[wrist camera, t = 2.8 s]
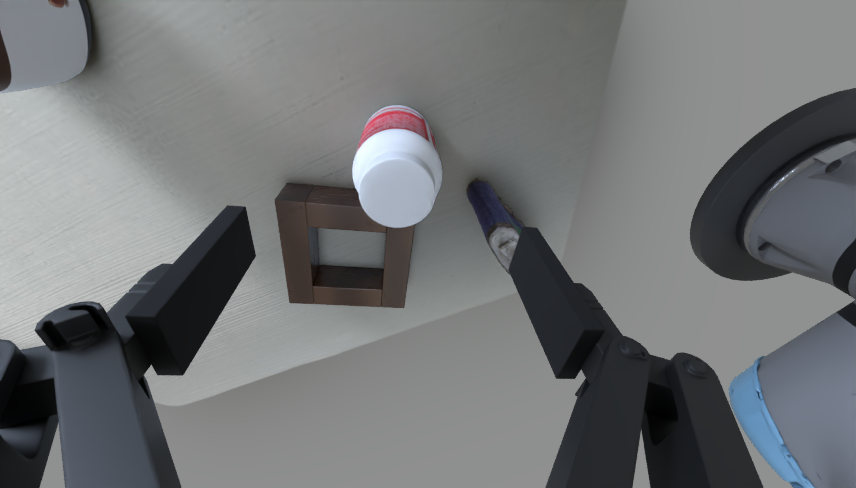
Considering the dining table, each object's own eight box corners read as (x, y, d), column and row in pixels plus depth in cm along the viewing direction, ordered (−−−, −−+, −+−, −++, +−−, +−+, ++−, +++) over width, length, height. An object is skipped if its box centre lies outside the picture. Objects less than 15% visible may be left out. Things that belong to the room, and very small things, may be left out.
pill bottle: (348, 134, 28) (322, 187, 19) (403, 87, 26) (404, 121, 17) (394, 186, 31) (391, 254, 22) (446, 147, 29) (467, 203, 20)
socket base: (414, 194, 32) (416, 211, 29) (403, 286, 38) (404, 308, 36) (286, 182, 30) (274, 199, 27) (298, 281, 37) (289, 303, 34)
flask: (531, 232, 35) (574, 302, 26) (508, 247, 36) (542, 320, 27) (481, 172, 31) (513, 232, 22) (457, 191, 32) (478, 256, 23)
